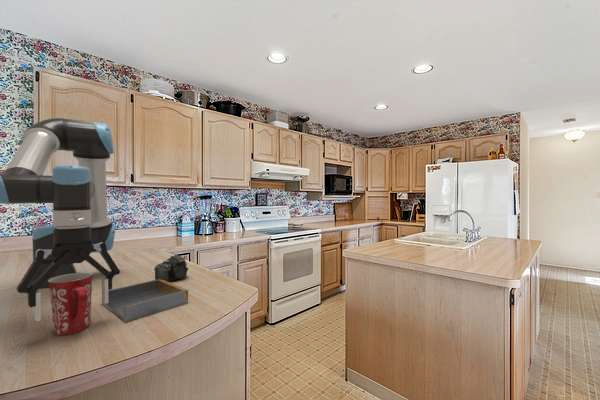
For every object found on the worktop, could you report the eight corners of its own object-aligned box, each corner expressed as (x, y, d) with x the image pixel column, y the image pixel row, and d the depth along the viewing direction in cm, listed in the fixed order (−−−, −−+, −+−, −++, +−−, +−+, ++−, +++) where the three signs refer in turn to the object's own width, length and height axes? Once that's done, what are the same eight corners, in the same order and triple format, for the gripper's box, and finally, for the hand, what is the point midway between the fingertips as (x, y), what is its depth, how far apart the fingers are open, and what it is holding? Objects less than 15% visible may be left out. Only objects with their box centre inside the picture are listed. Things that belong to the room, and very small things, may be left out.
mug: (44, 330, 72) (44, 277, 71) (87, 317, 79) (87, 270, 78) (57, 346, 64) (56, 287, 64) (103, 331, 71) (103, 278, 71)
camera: (173, 285, 107) (173, 259, 107) (151, 284, 109) (151, 258, 109) (193, 276, 120) (193, 252, 120) (173, 274, 122) (173, 252, 122)
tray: (101, 304, 88) (101, 291, 88) (159, 289, 102) (159, 278, 102) (125, 322, 76) (125, 307, 76) (188, 302, 90) (187, 290, 90)
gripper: (2, 233, 59) (4, 333, 59) (132, 223, 78) (133, 299, 78) (-1, 230, 64) (1, 323, 64) (122, 222, 83) (123, 293, 83)
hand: (73, 310), depth 71 cm, fingers open, 13 cm apart
